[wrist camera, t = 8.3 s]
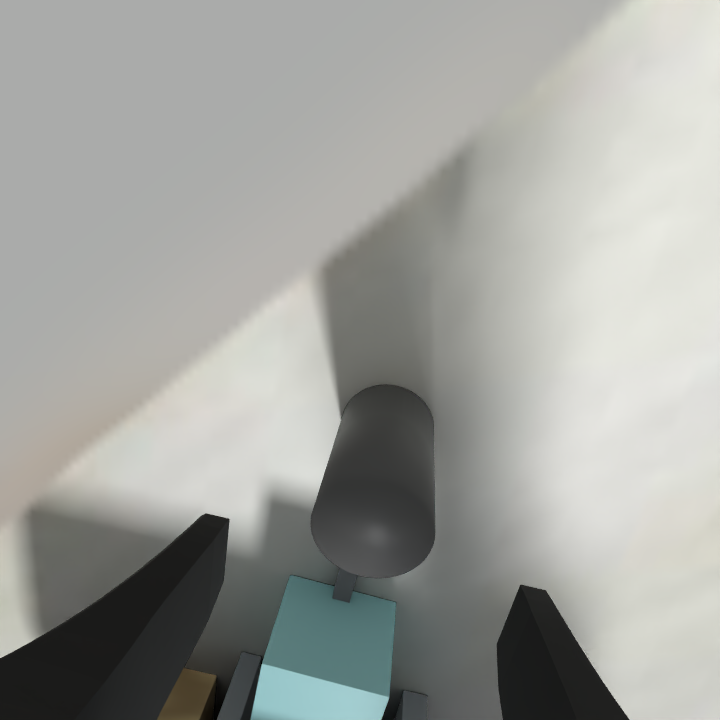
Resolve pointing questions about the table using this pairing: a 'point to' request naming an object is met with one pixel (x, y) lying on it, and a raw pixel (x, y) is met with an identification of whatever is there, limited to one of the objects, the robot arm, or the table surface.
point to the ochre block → (191, 697)
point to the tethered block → (354, 564)
